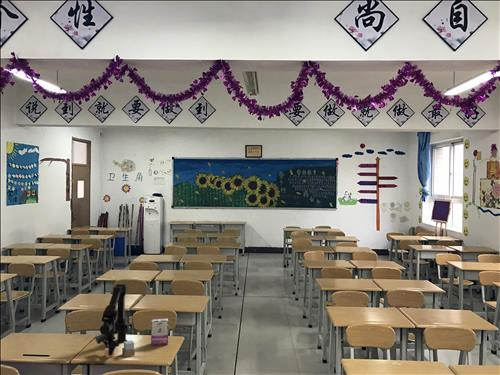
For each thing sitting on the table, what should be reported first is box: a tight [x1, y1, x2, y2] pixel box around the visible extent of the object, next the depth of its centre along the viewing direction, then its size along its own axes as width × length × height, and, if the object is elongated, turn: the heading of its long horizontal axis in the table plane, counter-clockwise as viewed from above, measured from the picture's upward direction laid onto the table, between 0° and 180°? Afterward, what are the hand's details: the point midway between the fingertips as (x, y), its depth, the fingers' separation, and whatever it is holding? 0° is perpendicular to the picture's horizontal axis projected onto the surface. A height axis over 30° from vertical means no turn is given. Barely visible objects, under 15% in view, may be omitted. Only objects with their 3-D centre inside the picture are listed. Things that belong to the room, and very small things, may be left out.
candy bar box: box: [150, 318, 169, 346], centre depth 295 cm, size 11×5×16 cm, turn 101°
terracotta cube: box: [104, 347, 115, 359], centre depth 272 cm, size 4×4×4 cm
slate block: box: [123, 340, 135, 351], centre depth 275 cm, size 5×5×4 cm
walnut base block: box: [121, 347, 136, 358], centre depth 275 cm, size 6×6×4 cm
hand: (109, 354), depth 272 cm, fingers closed on terracotta cube, 4 cm apart
